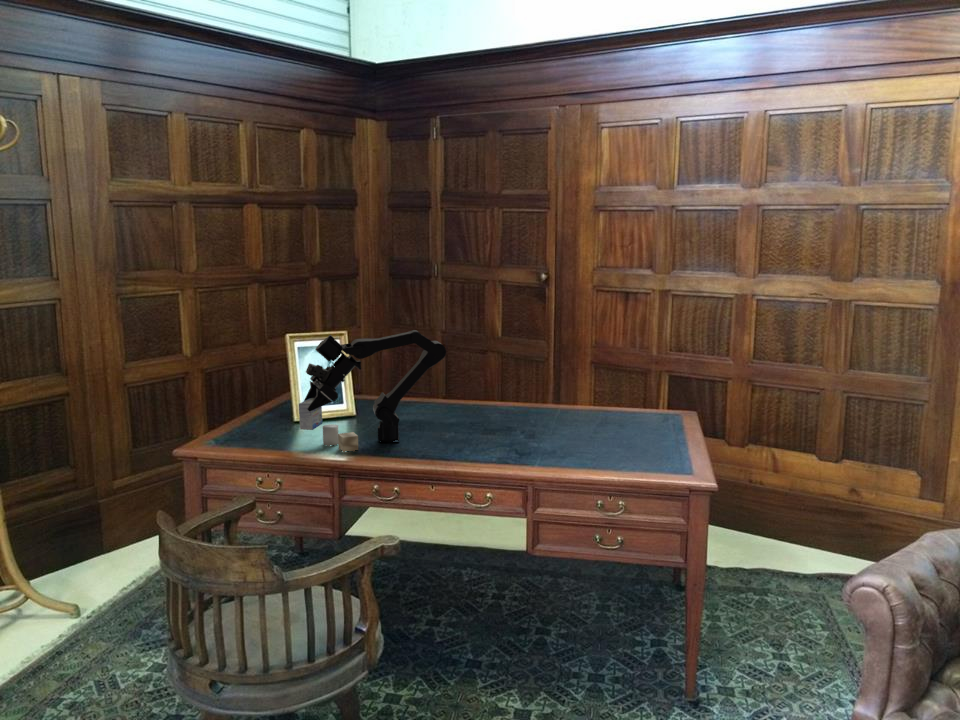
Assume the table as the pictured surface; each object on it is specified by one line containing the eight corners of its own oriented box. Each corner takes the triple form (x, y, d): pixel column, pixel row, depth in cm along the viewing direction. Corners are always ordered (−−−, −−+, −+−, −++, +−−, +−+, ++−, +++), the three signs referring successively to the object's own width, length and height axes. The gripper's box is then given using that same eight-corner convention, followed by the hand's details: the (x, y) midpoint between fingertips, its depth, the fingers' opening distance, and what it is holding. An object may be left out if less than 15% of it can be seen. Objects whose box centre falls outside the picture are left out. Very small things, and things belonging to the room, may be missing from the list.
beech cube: (353, 446, 258) (353, 432, 257) (358, 451, 253) (358, 435, 253) (338, 448, 256) (338, 433, 255) (343, 452, 251) (342, 437, 250)
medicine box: (312, 430, 252) (311, 403, 250) (299, 429, 253) (298, 403, 251) (322, 424, 259) (321, 398, 258) (310, 423, 260) (308, 397, 259)
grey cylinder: (339, 441, 263) (338, 424, 262) (338, 445, 259) (337, 428, 257) (323, 442, 263) (323, 424, 262) (322, 446, 258) (322, 428, 257)
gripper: (315, 350, 262) (283, 385, 260) (326, 359, 245) (291, 397, 243) (340, 371, 266) (308, 406, 264) (352, 382, 249) (318, 420, 247)
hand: (306, 407), depth 254 cm, fingers closed on medicine box, 9 cm apart
